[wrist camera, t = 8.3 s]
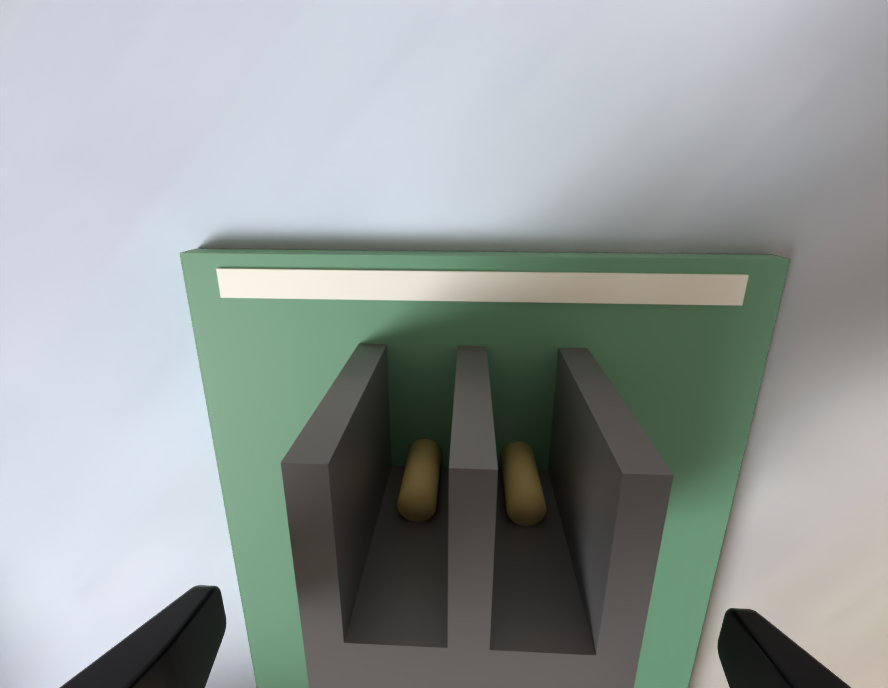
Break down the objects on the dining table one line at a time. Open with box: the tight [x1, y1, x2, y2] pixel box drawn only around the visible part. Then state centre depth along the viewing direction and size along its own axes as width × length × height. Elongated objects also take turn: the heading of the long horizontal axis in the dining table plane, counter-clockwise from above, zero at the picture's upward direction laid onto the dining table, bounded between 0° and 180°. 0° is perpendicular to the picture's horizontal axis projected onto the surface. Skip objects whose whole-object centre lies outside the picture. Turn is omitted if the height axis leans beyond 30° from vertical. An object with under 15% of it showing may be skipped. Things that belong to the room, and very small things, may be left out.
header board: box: [180, 249, 790, 688], centre depth 15 cm, size 16×20×3 cm
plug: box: [281, 344, 674, 688], centre depth 12 cm, size 6×6×6 cm
